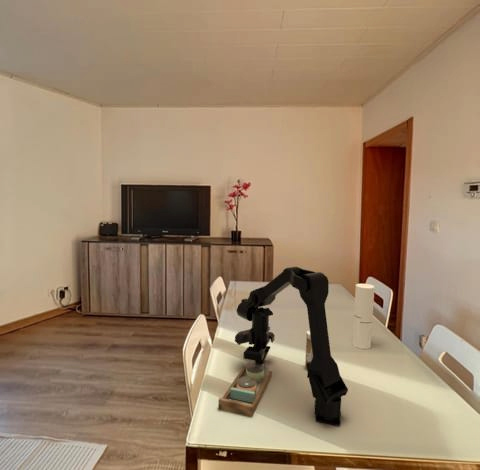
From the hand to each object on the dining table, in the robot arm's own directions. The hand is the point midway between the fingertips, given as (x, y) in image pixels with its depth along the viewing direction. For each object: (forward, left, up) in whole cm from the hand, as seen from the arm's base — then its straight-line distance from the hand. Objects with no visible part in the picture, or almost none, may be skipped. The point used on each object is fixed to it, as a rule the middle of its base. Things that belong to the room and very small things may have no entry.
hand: (259, 368), depth 123 cm
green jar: (0, +5, -1) cm, 5 cm away
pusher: (0, +18, -1) cm, 19 cm away
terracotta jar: (0, +15, -1) cm, 15 cm away
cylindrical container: (-34, -35, -1) cm, 49 cm away
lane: (0, +14, -1) cm, 14 cm away
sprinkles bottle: (-17, -8, -1) cm, 19 cm away
